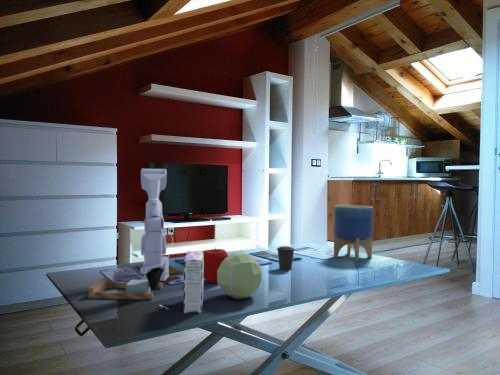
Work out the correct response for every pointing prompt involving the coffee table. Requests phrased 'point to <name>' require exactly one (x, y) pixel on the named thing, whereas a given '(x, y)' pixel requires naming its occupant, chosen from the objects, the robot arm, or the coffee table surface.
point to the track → (104, 283)
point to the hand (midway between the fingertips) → (154, 289)
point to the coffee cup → (285, 257)
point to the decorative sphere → (239, 275)
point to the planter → (353, 228)
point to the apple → (213, 263)
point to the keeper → (138, 286)
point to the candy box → (193, 281)
